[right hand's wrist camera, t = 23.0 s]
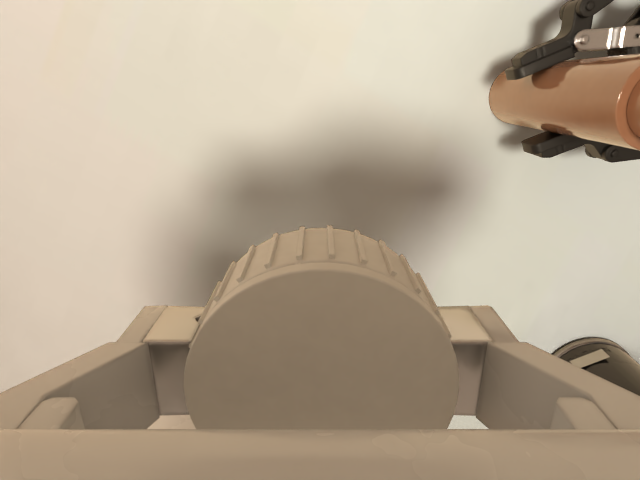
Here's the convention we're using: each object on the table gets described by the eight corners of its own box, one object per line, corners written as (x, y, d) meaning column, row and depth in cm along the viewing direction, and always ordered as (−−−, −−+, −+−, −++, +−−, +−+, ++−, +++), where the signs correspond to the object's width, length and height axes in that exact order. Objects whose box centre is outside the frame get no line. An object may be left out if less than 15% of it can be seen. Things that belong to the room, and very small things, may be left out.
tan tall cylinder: (509, 54, 35) (699, 24, 17) (556, 80, 35) (784, 77, 18) (478, 108, 36) (624, 131, 19) (523, 132, 37) (705, 176, 19)
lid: (401, 431, 11) (421, 513, 9) (199, 402, 11) (170, 480, 9) (460, 245, 10) (502, 293, 7) (221, 204, 9) (190, 241, 7)
